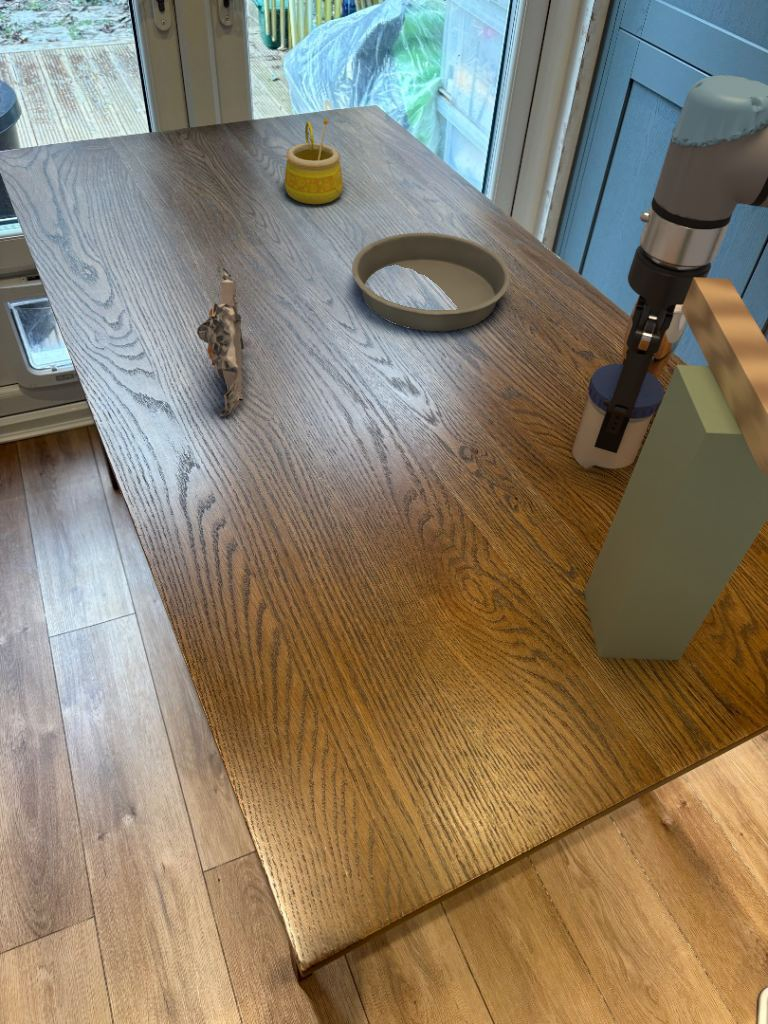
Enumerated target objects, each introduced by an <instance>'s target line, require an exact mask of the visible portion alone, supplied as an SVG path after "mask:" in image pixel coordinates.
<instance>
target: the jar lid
mask: <svg viewBox="0 0 768 1024" xmlns="http://www.w3.org/2000/svg"><path fill="white" fill-rule="evenodd" d="M623 366H624V364H621V363H612V364H611V363H609V364H606V365H605V364H604V365H602V366H600V367H598V368H597V369H596V370H595V371H594V372H593V374H592V376H591V377H590V380H589V383H588V387H587V391H588V396H590V398H591V400H592V402H594V404H595V405H596V406H598V407H599V408H600V409H602V410H603V411H605V412H606V411H607V408H608V407H607V406H604V405H603V403H604V400H605V399H606V400H610V399H612V398H613V395H614V392H615V389H616V386H617V383H618V380H619V377H620V374H621V371H622V368H623ZM664 391H665V390H664V386H663V384H662V383H661V381H660V380H659V378H658V379H657V378H656V377H655V376H653V375H652V374H651V373H649V372H647V373H646V376H645V378H644V381H643V384H642V387H641V389H640V392H639V395H638V398H637V400H636V403H635V407H634V410H633V411H634V412H633V415H632V416H631V417H630V419H640V418H645V417H648V416H651V415H652V414H653V413H654V414H655V413H657V412H658V409H659V407H660V404H661V402H662V399H663V397H664V395H665V392H664ZM654 414H653V415H654Z"/></svg>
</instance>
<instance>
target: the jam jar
mask: <svg viewBox="0 0 768 1024" xmlns="http://www.w3.org/2000/svg"><path fill="white" fill-rule="evenodd" d="M605 414H606V412H605V411H603V410H602V409H600V408H599V407H598V406H596V405H595V404H594V402H592V400H591V398H590V396H589V395H588V396H587V399H586V402H585V405H584V409H583V412H582V415H581V418H580V421H579V424H578V428H577V431H576V434H575V437H574V440H573V443H572V447H571V452H572V457H573V458H574V460H575V462H577V463H578V464H579V466H581V467H582V468H583V469H589V468H591V467H593V466H596V467H600V468H605V469H622V468H626V467H628V466H631V464H633V463H634V461H635V460H636V458H637V456H638V453H639V450H640V448H641V445H642V443H643V441H644V438H645V436H646V433H647V431H648V429H649V426H650V425H651V424H650V423H651V421H652V418H653V416H654V414H655V413H653V414H652V415H651V416H648V417H645V418H640V419H629V422H628V425H627V427H626V430H625V433H624V435H623V438H622V441H621V443H620V446H619V449H618V451H617V453H613V452H610V451H607V450H603V449H600V448H597V447H594V446H595V443H596V440H597V437H598V434H599V431H600V428H601V425H602V422H603V419H604V416H605Z"/></svg>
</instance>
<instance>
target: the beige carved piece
mask: <svg viewBox="0 0 768 1024" xmlns="http://www.w3.org/2000/svg"><path fill="white" fill-rule="evenodd" d="M216 267H217V268H216V269H217V272H218V274H219V276H220V277H221V278H222V279H223V280H222V281H220V304H217V303H216V302H214V303H213V305H212V307H211V308H210V310H209V314H208V318H207V319H206V320H205V321H204V322H202V323H201V324H200V325H199V326H198V327H197V329H196V330H197V331H196V334H197V336H198V338H199V340H201V341H203V342H204V343H206V344H208V345H207V348H206V351H207V354H208V357H209V359H210V360H211V366H213V367H214V366H215V370H216V374H217V377H218V379H221V378H222V377H223V379H224V381H225V385H226V390H227V391H226V393H225V394H223V398H224V406H225V407H224V408H223V409H221V411H220V413H219V418H221V419H223V418H225V417H226V416H228V415H231V413H232V411H234V410H235V409H236V408H237V407H238V406H239V405H240V404H241V400H239V399H243V400H244V396H243V397H242V394H241V392H242V393H243V385H242V383H243V372H242V366H243V363H242V354H243V353H242V350H244V339H243V332H242V326H241V325H242V322H243V321H242V316H241V315H240V314H239V313H238V309H239V307H238V304H239V301H238V299H237V298H236V296H237V294H236V293H237V290H236V287H237V284H236V283H237V282H235V281H234V279H233V278H232V274H231V273H230V272H228V271H227V270H226V269H225V268H224V267H220V266H216ZM227 273H228V274H227ZM238 400H239V401H238ZM228 413H229V414H228Z"/></svg>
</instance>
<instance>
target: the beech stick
mask: <svg viewBox="0 0 768 1024" xmlns="http://www.w3.org/2000/svg"><path fill="white" fill-rule="evenodd" d="M681 310H682V312H683V314H684V316H685V318H686V320H687V325H688V327H689V329H690V331H691V332H692V334H693V336H694V339H695V341H696V342H697V345H698V346H699V349H700V351H701V353H702V355H703V357H704V359H705V361H706V363H707V366H709V367H710V369H711V371H712V373H713V375H714V377H715V379H716V381H717V383H718V386H719V388H720V390H721V392H722V394H723V396H724V398H725V400H726V402H727V404H728V406H729V408H730V410H731V412H732V414H733V416H734V418H735V420H736V422H737V424H738V426H739V428H740V430H741V432H742V434H743V437H744V439H745V441H746V443H747V445H748V447H749V449H750V451H751V453H752V455H753V457H754V459H755V461H756V463H757V465H758V467H759V469H760V471H761V473H762V474H768V340H767V339H766V337H765V335H764V334H763V332H762V330H761V328H760V327H759V326H758V324H757V322H756V321H755V319H754V317H753V315H752V314H751V312H750V310H749V309H748V307H747V306H746V304H745V302H744V301H743V299H742V298H741V296H740V294H739V292H738V290H737V289H736V287H735V286H734V283H733V282H732V280H731V279H730V278H719V277H718V278H717V277H715V278H714V277H707V278H700V277H694V278H693V280H692V283H691V285H690V288H689V290H688V293H687V296H686V298H685V301H684V303H683V306H682V309H681Z"/></svg>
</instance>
